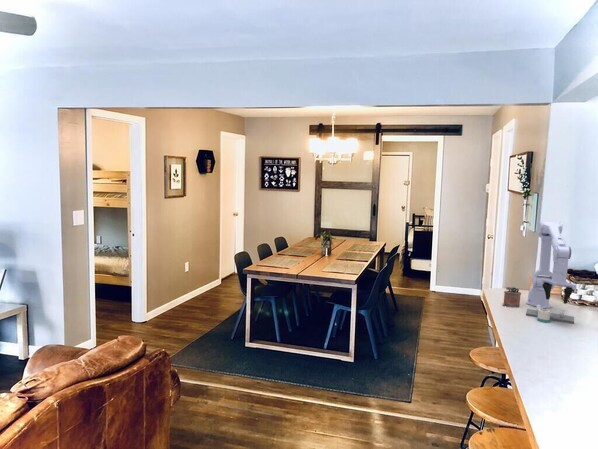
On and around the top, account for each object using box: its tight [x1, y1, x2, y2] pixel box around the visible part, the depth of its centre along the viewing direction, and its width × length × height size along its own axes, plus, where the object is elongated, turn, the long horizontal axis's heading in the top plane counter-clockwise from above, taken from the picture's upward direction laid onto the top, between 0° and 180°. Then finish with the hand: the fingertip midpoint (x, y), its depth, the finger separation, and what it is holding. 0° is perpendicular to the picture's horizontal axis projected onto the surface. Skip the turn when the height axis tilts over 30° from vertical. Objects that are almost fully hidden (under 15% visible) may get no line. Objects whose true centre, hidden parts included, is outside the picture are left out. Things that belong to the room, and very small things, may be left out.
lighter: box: [502, 286, 522, 308], centre depth 237 cm, size 8×3×10 cm, turn 84°
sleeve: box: [536, 308, 551, 323], centre depth 216 cm, size 5×5×5 cm
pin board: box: [525, 305, 575, 324], centre depth 222 cm, size 20×9×5 cm, turn 60°
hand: (556, 301), depth 215 cm, fingers open, 7 cm apart
